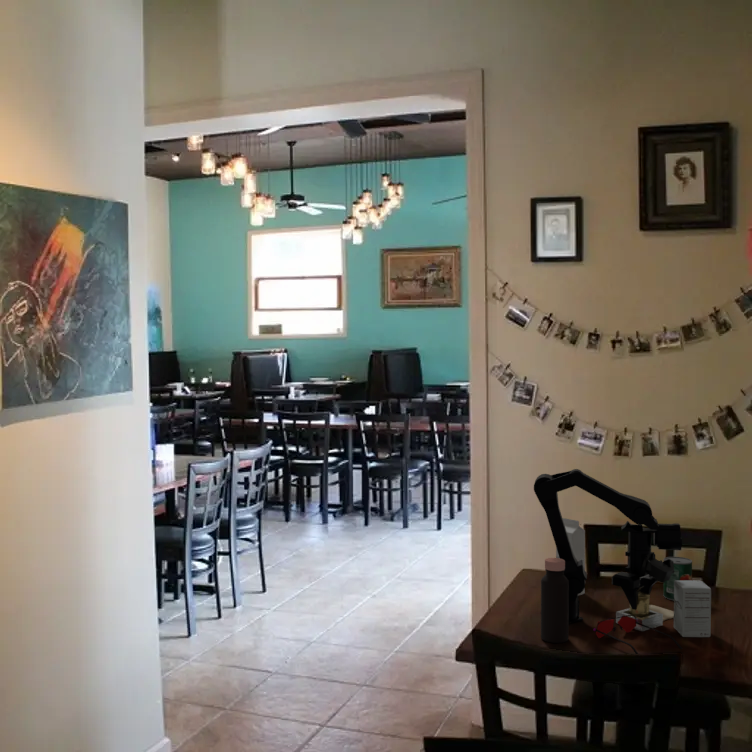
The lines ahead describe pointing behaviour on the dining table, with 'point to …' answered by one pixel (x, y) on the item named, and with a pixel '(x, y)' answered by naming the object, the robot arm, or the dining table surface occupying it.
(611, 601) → the dining table surface
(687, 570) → the canned tomato
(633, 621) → the glasses
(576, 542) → the milk
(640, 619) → the housing
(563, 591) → the bottle
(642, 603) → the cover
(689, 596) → the supplement box
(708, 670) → the dining table surface
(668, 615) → the coaster
